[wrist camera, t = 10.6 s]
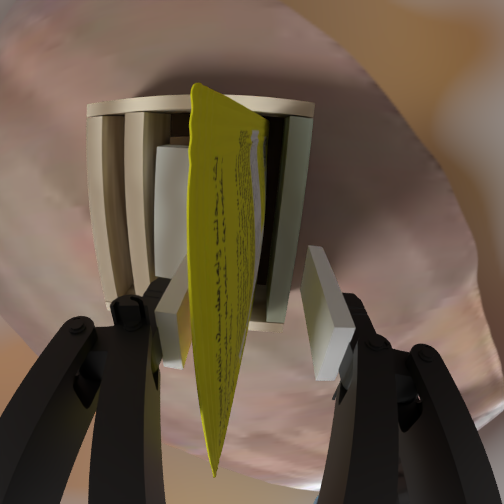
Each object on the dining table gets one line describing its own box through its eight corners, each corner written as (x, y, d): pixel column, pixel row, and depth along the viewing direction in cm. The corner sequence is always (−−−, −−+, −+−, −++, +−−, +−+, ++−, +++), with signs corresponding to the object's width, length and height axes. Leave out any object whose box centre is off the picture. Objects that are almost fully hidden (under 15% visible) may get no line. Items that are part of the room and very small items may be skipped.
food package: (263, 121, 22) (165, 83, 4) (276, 122, 22) (232, 80, 4) (252, 280, 28) (204, 476, 10) (263, 281, 28) (226, 480, 10)
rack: (302, 109, 21) (314, 103, 16) (279, 294, 29) (282, 332, 23) (122, 106, 21) (87, 104, 16) (130, 278, 29) (107, 310, 24)
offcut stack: (229, 137, 23) (218, 140, 17) (223, 264, 28) (212, 299, 22) (174, 136, 23) (147, 139, 17) (175, 259, 28) (154, 292, 22)
